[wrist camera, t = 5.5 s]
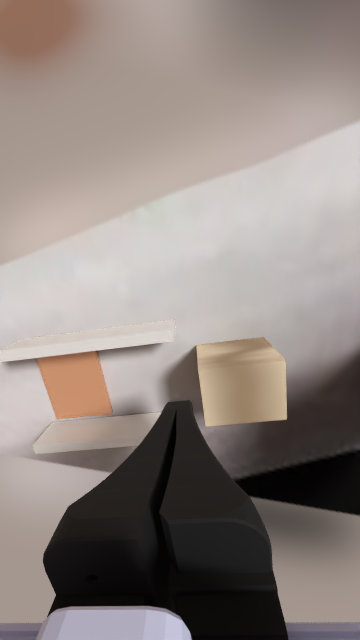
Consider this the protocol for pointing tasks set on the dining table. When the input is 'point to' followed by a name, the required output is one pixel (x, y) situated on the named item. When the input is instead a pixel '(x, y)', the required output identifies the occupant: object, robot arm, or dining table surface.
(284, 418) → the block
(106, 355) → the dining table surface
